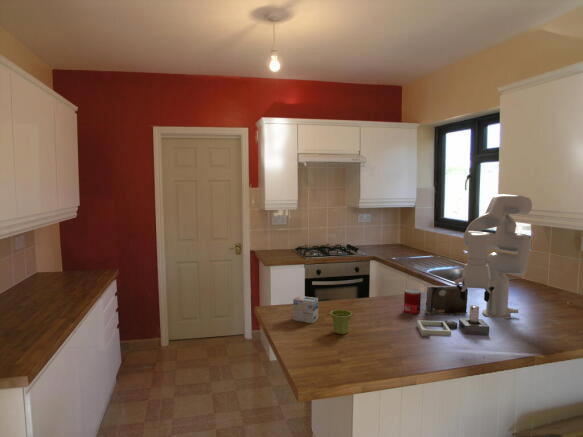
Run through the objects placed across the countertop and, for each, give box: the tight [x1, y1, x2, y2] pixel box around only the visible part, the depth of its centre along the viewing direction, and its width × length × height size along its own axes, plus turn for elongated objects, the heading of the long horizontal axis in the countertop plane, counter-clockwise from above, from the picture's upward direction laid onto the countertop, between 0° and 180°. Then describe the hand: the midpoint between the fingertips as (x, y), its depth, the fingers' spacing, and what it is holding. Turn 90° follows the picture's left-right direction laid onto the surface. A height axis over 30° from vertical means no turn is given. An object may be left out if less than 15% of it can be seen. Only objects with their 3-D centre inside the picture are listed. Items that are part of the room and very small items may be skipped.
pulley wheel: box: [440, 319, 459, 330], centre depth 182 cm, size 7×7×3 cm
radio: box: [424, 285, 469, 316], centre depth 202 cm, size 23×9×15 cm, turn 98°
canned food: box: [403, 288, 422, 315], centre depth 204 cm, size 8×8×11 cm
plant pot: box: [330, 309, 353, 335], centre depth 177 cm, size 9×9×9 cm
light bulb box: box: [292, 295, 319, 324], centre depth 192 cm, size 11×7×11 cm, turn 65°
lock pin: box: [468, 305, 480, 325], centre depth 176 cm, size 4×4×11 cm
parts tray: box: [416, 319, 452, 337], centre depth 178 cm, size 12×12×3 cm
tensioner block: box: [458, 317, 490, 337], centre depth 176 cm, size 10×9×5 cm
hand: (474, 300), depth 174 cm, fingers open, 9 cm apart
